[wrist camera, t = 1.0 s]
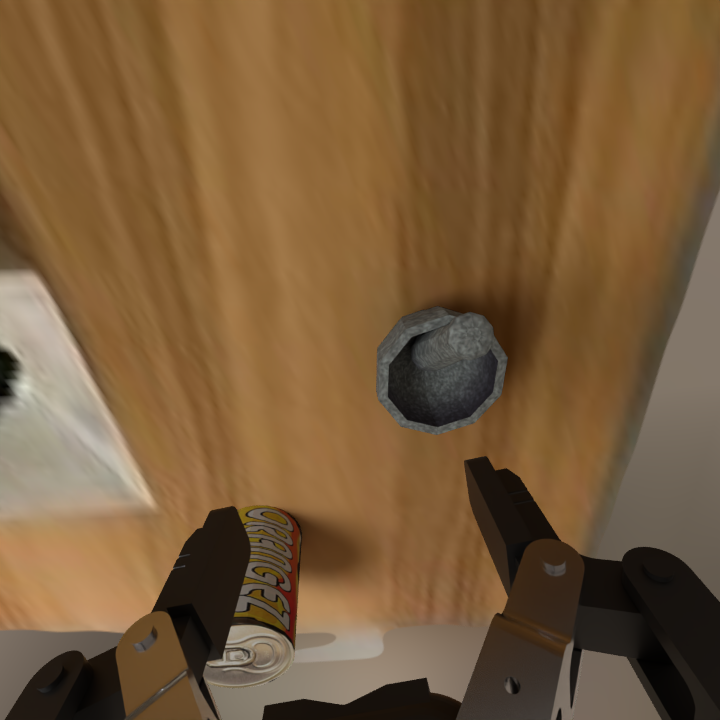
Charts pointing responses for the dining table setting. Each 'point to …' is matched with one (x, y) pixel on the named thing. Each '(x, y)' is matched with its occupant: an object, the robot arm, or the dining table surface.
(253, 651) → the beverage can
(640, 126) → the dining table surface
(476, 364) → the mortar and pestle
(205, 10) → the dining table surface
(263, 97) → the dining table surface
